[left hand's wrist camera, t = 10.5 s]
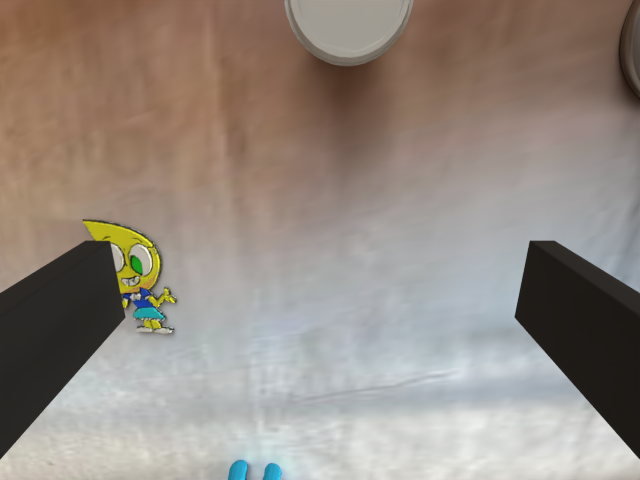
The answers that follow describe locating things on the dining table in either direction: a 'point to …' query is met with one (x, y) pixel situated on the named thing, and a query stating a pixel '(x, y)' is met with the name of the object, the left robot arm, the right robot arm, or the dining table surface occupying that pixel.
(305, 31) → the disposable coffee cup
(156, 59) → the dining table surface
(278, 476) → the toy
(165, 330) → the toy
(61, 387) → the left robot arm
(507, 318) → the dining table surface
